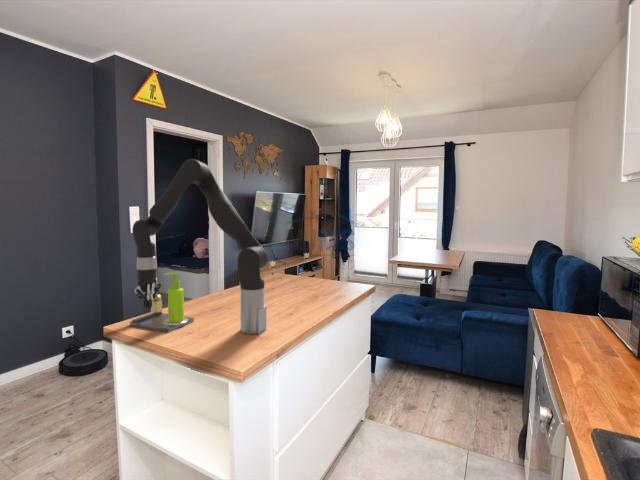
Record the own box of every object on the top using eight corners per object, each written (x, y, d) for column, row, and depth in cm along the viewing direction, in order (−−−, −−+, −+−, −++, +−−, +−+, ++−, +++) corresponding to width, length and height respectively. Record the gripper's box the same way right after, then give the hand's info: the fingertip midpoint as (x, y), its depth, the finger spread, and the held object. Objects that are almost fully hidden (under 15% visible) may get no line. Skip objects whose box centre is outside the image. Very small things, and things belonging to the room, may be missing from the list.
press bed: (195, 321, 145) (195, 316, 145) (170, 332, 132) (169, 327, 132) (157, 315, 152) (157, 310, 152) (129, 325, 139) (129, 319, 139)
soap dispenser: (166, 319, 142) (164, 272, 140) (184, 318, 144) (183, 271, 143) (165, 324, 136) (164, 274, 135) (184, 322, 139) (183, 273, 137)
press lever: (163, 310, 150) (163, 295, 150) (156, 313, 147) (156, 297, 146) (157, 309, 152) (156, 294, 151) (150, 312, 148) (149, 296, 148)
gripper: (140, 270, 136) (141, 313, 137) (166, 265, 148) (167, 305, 149) (126, 269, 138) (127, 311, 140) (152, 264, 150) (153, 303, 152)
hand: (148, 308), depth 145 cm, fingers closed
